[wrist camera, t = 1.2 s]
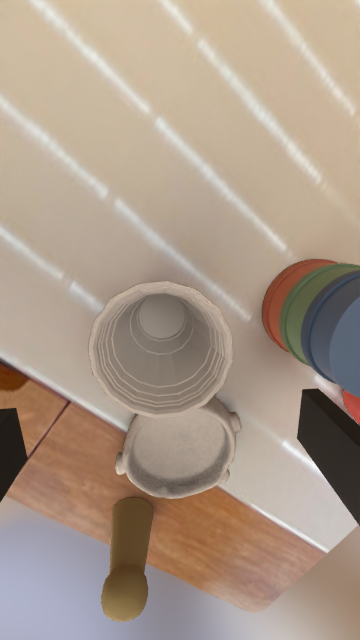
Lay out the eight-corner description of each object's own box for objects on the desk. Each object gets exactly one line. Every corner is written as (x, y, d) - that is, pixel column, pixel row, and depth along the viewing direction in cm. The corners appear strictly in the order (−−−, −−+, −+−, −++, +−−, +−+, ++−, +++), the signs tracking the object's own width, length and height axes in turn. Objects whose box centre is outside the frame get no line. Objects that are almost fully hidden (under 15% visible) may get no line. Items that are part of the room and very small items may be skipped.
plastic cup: (166, 247, 29) (171, 248, 17) (224, 319, 31) (261, 362, 20) (93, 309, 30) (52, 348, 18) (155, 373, 33) (153, 443, 21)
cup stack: (264, 260, 30) (331, 270, 18) (361, 257, 31) (483, 264, 19) (259, 354, 33) (312, 412, 22) (346, 349, 34) (443, 402, 22)
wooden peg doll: (128, 490, 37) (116, 587, 27) (161, 509, 39) (162, 607, 28) (103, 517, 38) (82, 620, 28) (136, 534, 40) (128, 638, 29)
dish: (113, 456, 36) (106, 488, 31) (147, 368, 32) (144, 389, 28) (210, 479, 38) (217, 513, 33) (250, 400, 35) (264, 425, 30)
